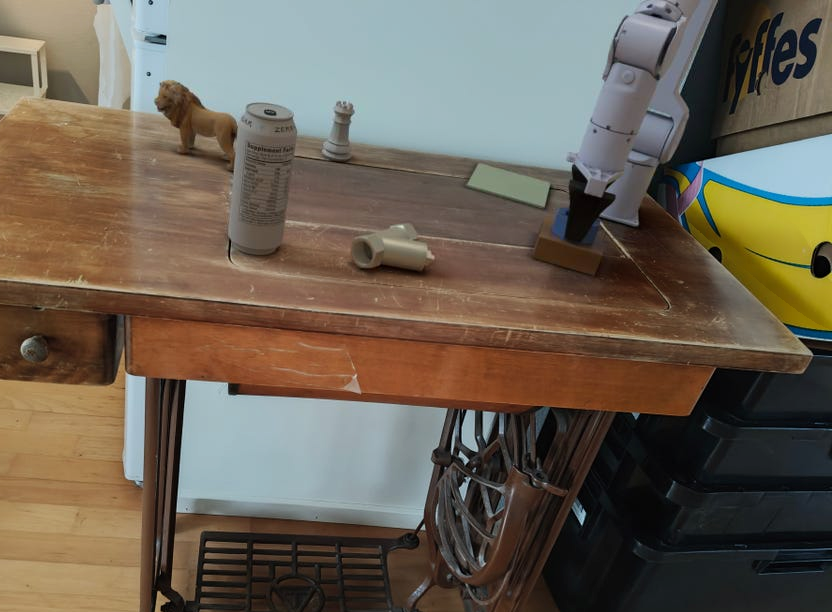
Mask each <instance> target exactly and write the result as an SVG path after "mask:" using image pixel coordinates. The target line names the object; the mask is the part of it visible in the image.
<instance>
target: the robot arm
mask: <svg viewBox="0 0 832 612" xmlns="http://www.w3.org/2000/svg"><path fill="white" fill-rule="evenodd" d="M718 1H719V0H641V1H640V2H639V4H638V6H637V7H636V9H635V10H634V12H632V13H631V15H628V14H625V15H624V16H623V17H622V19H620V21H619V23H618V25H617V27H616V29H615V31H614V34H613V36H612V39H611V42H610V45H609V50H608V52H607V53H608V54H607V60H606V64H605V68H604V70H603V73H602V77H601V80H603V82H602V83H603V84H602V86H601V89H600V91H599V94H598V97H597V99H596V102H595V105H594V108H593V111H592V113H591V116H590V119H589V121H588V124H587V127H586V130H585V133H584V135H583V138H582V141H581V143H580V146H579V149H578V152H577V153H576V152H572V151H568V152H567V153H566V156H565V161H566V162H568V163H572V165H571V176H572V179H571V178H570V179H569V182H568V195H569V206H568V207H569V214H568V218H567V223H566V228H565V239H568V240H572V241H575V242H578V243H581V242H582V240H583V239H584V238H585V236H586V235H587V233H588V232H589V230H590V228H591V227H592V225H593V224H594V222H595V221H596V219H597V218H599V217H600V218H602V219H606V220H610V221H613V222H617V223H620V224H623V225H627V226H630V227H635V228H638V227H639V225H640V222H639V209H640V207H641V205H642V202H643V201H644V197H645V196H646V193H647V191H648V188H649V186H650V184H651V181H652V179H653V177H654V175H655V172H656V170H657V167H658V165H660V164H662V165H664V164H665V163H668V162H669V161H671V159H672V158H673V156H674V154H675V152H676V150H677V148H678V146H679V144H680V142H681V139H682V137H683V135H684V132H685V129H686V125H687V123H688V120H689V117H690V109H689V107H688V105H687V103H686V102H685V100H684V99H683V97H682V95H681V94H680V92H679V90H680V88H681V86H682V83H683V81H684V79H685V78H686V77H685V76H686V75H687V71H688V69H689V67H690V65H691V62H692V61H693V59H694V56H695V53H696V51H697V48H698V47H699V45H700V42H701V40H702V38H703V35H704V33H705V31H706V29H707V26H708V23H710V22H709V21H710V19H711V17H712V15H713V12H714V10H715V8H716V5H717V3H718ZM649 109H652V110H655V111H658V112H660V113H658V112H655V111H651V110H649ZM661 113H665V114H667V115H664V114H661ZM668 115H669V116H668Z"/></svg>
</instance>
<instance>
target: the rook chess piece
mask: <svg viewBox="0 0 832 612" xmlns="http://www.w3.org/2000/svg"><path fill="white" fill-rule="evenodd" d="M332 111H333V112H334V117H332V121H333V123H332V127H331V131H330V134H329V136H328V137H327V138H326V139H327V140H325V141H324V142H323V148H324V149H323V148H322V150H321V153H322V155H323V156H324V158H326V159H328V160H331V161H335V162H347V161H349V159H351V157H352V155H351V154H350V153H351V152H352V146H351V144H350V143H351V142H350V139H349V135H350V125H351V124H352V120H351V118H352V117H353V115H354V114H355V109H354V104H353V103H352V102H350V101H349V102H348V103H347V101H346V100H343V101H341V100H337V101H336V103H335V105H334V106H333V108H332Z"/></svg>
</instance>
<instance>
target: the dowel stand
mask: <svg viewBox="0 0 832 612" xmlns="http://www.w3.org/2000/svg"><path fill="white" fill-rule="evenodd" d="M554 220H555V217H551V216H548V215H544V216H543V218H542V221H541V223H540V226H539V230H538V232H537V235H536V240H535V244H534V247H533V252H532V256H531V258H533V259H536V260H539V261H542V262H545V263H548V264H551V265H552V264H553V265H555V266H559V267H563V268H566V269H569V270H571V271H572V270H573V271H575V272H579V273H583V274H586V275H589V276H592V277H593V276H595V275H596V272H597V270H598V268H599V266H600V263H601V261H602V258H603V257H604V232H603V231H601V230H598V233H597V235H596V238H595V240H594V242H593V243H589V244H577V243H574V242H571V241H567V240H564V239H562V238H560V237H559V236H558V235H556V234H555V233H553V232H552V226H553V223H554Z"/></svg>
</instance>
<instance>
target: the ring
mask: <svg viewBox="0 0 832 612" xmlns="http://www.w3.org/2000/svg"><path fill="white" fill-rule="evenodd" d="M568 214H569V206H566V207H559V208H558V209H557V212H556V215H555V217H554V218H555V220H554V223H553V226H552V232H553V233H555V234H556V235H558V236H559V237H560V238H562V239H564V240H567V241H571V242H574V243H577V244H589V243H593V242H594V240H595V238H596V235H597V233H598V231H600V228H601V219H600V218H599V217H598V218H597V219H596V221H595V222H594V224H593V225H592V227H591V228H590V230H589V232H588V233H587V235H586V236H585V238H584V239H583V240H582V242H581V243H578V242H575V241H572V240H568V239H565V228H566V223H567V218H568Z"/></svg>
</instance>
